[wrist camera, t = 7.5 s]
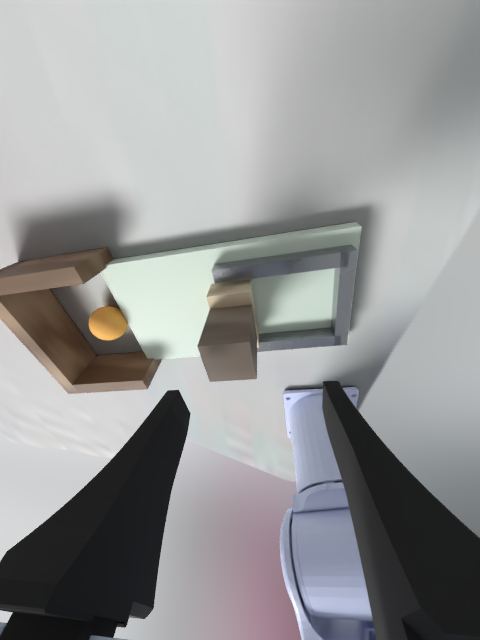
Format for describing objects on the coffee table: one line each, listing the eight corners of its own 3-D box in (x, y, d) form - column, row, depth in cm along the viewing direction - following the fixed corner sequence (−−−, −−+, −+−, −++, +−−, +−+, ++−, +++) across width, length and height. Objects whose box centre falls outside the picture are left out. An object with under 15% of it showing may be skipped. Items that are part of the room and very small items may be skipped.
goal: (162, 358, 25) (147, 389, 21) (92, 364, 26) (68, 393, 23) (107, 247, 18) (73, 266, 15) (17, 262, 19) (-32, 283, 16)
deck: (343, 336, 21) (347, 344, 20) (152, 352, 24) (148, 360, 23) (355, 221, 16) (361, 226, 15) (105, 260, 19) (97, 266, 18)
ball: (140, 328, 22) (115, 349, 19) (118, 325, 23) (92, 344, 21) (125, 301, 20) (97, 320, 18) (102, 299, 21) (73, 317, 19)
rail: (342, 335, 20) (346, 344, 19) (233, 344, 21) (232, 353, 20) (351, 244, 15) (357, 250, 14) (214, 263, 17) (211, 270, 16)
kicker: (258, 332, 20) (258, 389, 15) (224, 335, 20) (213, 391, 15) (250, 278, 17) (246, 327, 12) (211, 283, 17) (192, 332, 13)
